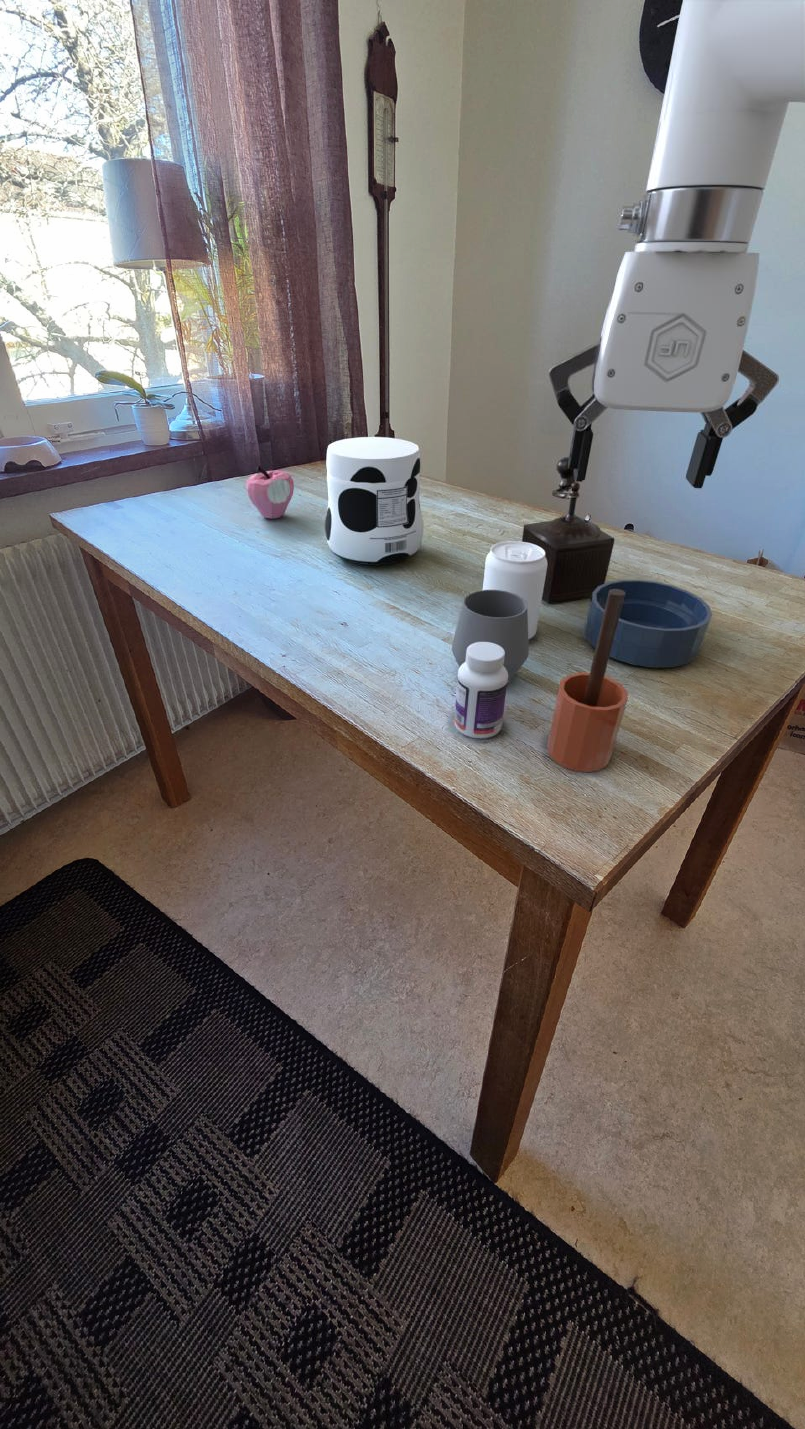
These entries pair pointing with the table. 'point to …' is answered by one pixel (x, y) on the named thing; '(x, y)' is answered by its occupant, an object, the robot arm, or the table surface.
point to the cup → (494, 626)
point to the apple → (270, 492)
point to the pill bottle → (481, 691)
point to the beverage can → (518, 575)
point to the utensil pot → (585, 724)
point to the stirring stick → (603, 646)
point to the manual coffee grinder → (570, 547)
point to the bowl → (651, 623)
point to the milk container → (373, 500)
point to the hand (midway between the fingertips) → (635, 480)
